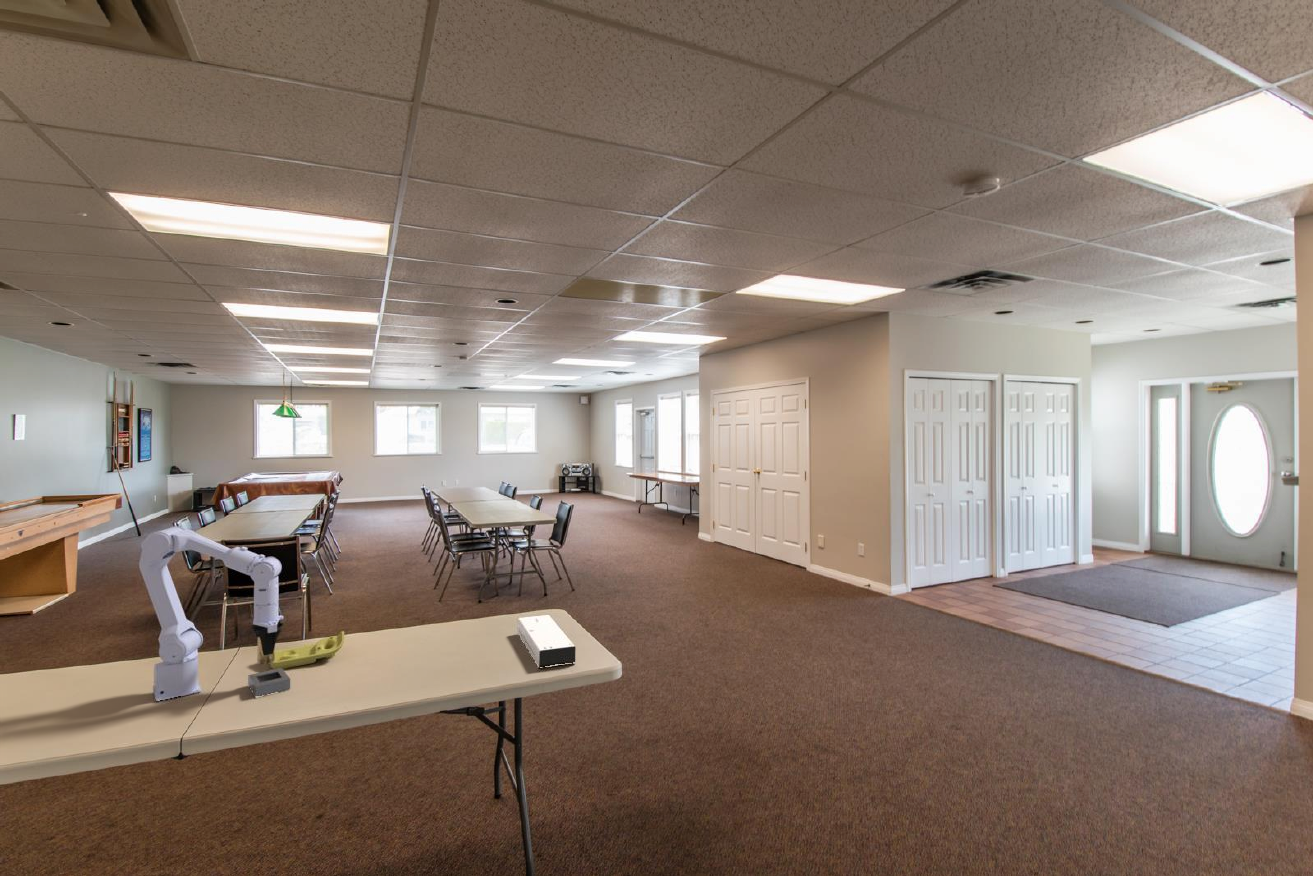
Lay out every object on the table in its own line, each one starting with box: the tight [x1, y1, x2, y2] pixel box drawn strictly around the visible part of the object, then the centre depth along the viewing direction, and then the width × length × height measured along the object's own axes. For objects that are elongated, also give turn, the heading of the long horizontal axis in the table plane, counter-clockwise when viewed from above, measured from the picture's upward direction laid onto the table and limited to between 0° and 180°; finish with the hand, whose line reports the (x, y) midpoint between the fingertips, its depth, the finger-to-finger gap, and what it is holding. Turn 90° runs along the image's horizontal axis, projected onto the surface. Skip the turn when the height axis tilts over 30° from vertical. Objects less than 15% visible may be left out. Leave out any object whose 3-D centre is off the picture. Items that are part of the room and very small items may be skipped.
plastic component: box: [269, 630, 345, 670], centre depth 189 cm, size 20×7×10 cm
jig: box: [247, 668, 291, 697], centre depth 169 cm, size 8×10×3 cm
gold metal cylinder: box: [256, 636, 276, 665], centre depth 170 cm, size 4×4×7 cm
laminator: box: [517, 614, 577, 668], centre depth 203 cm, size 34×12×6 cm, turn 24°
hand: (266, 652), depth 170 cm, fingers closed on gold metal cylinder, 4 cm apart
